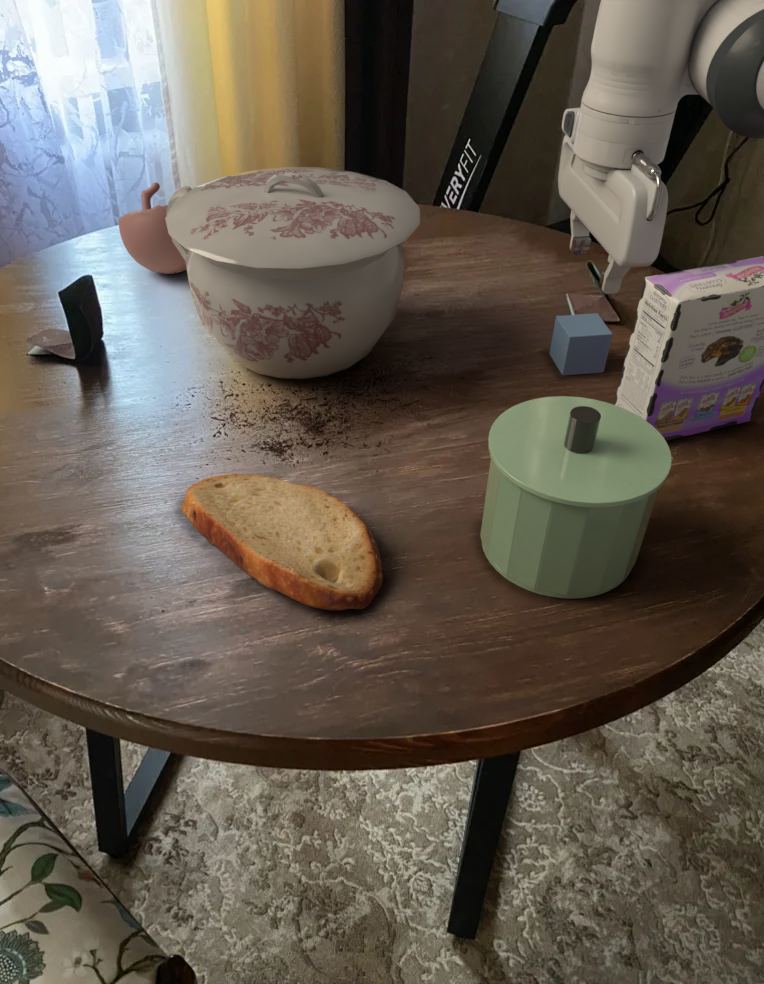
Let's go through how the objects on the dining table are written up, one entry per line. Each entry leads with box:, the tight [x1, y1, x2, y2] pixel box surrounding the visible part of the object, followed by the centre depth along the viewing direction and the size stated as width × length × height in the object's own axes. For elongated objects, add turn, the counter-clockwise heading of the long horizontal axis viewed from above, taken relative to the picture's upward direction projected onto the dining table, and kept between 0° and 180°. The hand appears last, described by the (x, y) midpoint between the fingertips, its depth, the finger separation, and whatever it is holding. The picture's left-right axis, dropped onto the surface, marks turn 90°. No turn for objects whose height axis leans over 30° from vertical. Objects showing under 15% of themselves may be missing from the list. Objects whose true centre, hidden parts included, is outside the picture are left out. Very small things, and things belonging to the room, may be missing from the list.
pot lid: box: [487, 395, 673, 508], centre depth 68 cm, size 15×15×4 cm
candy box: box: [613, 255, 764, 442], centre depth 84 cm, size 14×6×16 cm, turn 108°
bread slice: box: [181, 473, 384, 611], centre depth 74 cm, size 18×18×4 cm
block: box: [548, 312, 613, 376], centre depth 97 cm, size 5×5×5 cm
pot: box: [479, 457, 660, 600], centre depth 72 cm, size 14×14×10 cm
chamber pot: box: [165, 166, 421, 380], centre depth 95 cm, size 28×27×21 cm
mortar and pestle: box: [118, 182, 187, 275], centre depth 114 cm, size 12×12×11 cm
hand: (592, 271), depth 91 cm, fingers open, 8 cm apart
